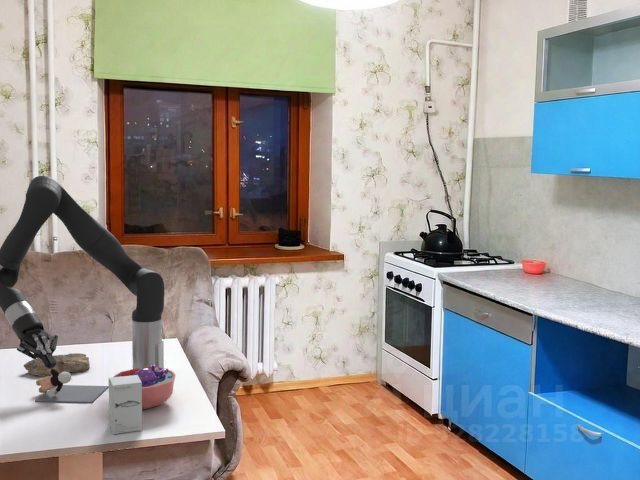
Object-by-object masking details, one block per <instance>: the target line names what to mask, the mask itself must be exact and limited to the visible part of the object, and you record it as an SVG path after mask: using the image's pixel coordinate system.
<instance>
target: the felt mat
mask: <svg viewBox="0 0 640 480" xmlns="http://www.w3.org/2000/svg"><path fill="white" fill-rule="evenodd" d="M56 388H57V386H56V387H55V388H53V389H50V390H48V391H47V392H46V393H42V395H41V396H39V397H38V398H37V399H36V400H35V403H62V404H64V403H69V404H70V403H73V404H93V403H94V402H95V401H96V400H97V399H98V398H100V396H102V395H103V394H104V393H105V392H106V391H107V390H109V385H81V384H80V385H79V384H78V385H77V384H74V385H73V384H70V385H69V384H63V386H62V388H61V390H60V391H59V392H58V393H57V394H56V395H54V391H55V390H56Z"/></svg>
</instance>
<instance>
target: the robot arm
mask: <svg viewBox="0 0 640 480" xmlns="http://www.w3.org/2000/svg"><path fill="white" fill-rule="evenodd" d="M24 200H25V201H24V204H23V206H22V207H23V208H22V211H21V212H20V215H19V218H18V220H17V222H16V224H15V225H14V226H13V227H12V229H11V230H10V231H9V233H8V235H7V236H6V238H5V239H4V240H3V242H2V244H1V245H0V309H1V311H2V312H3V314H4V316H5V318H6V320H7V323H8V324H9V325H10V327H11V329H12V331H13V332H14V333H15V336H16V338H17V339H18V340H19V341H20V343H19V345H18V346H17V347H16V350H17V352H20V353H22V354H23V355H25V356H28V357H29V358H31V359H32V360H33V359H37V358H39V359H41V360H42V362H43V363H44V365H45V366H46V367H48V369H50V368H54V367H55V365H56V360H55V358H54V357H53V356H54V355H53V354H54V352H55V351H56V349H57V344H58V340H59V336H58V335H57V334H54V335H50V334H49V332H48V331H46V330H45V328H44V324H43V322H42V321H41V320H40V317H39V316H38V315H37V313H36V312H35V310H34V308H33V307H32V306H31V304H30V303H29V302H28V300H27V299H26V297H25V295H24V294H23V292H22V291H21V290H19V288H15V287H14V286H15V285H16V284H17V283H18V279H19V274H20V271H21V265H22V262H23V260H24V259H25V257H26V255H27V253H28V251H29V249H30V247H31V246H32V243H33V242H34V240H35V239H36V236H37V234H38V233H39V231H40V230H41V228H42V227H43V225H44V224H45V223H46V221H47V220H48V219H50V217H51V216H52V215H53V214H54V215H55V216H56V217H57V218H58V220H60V221H61V222H62V224H63V225H64V226H65V228H66V229H67V231H68V233H69V234H70V236H71V238H73V240H74V241H75V243H76V244H77V245H78V246H79V247H80V249H82V250H83V251H84V252H85V253H86V254H87V255H88V256H90V257H91V258H92V259H94V260H95V261H96V262H97V263H99V264H100V265H101V266H103V267H104V268H105V269H107V270H109V272H111V273H112V274H113V275H114V276H116V277H117V278H118V280H119V281H120V282H121V283H122V284H123V285H124V286H125V288H127V290H128V291H129V292H130V293H131V294H132V295H134V296H135V297H136V308H135V309H133V311H132V312H131V328H132V329H131V341H132V342H131V345H132V347H131V350H132V369H135V368H141V367H146V366H152V365H155V367H161V368H165V367H164V366H165V359H164V357H165V354H164V353H165V352H164V350H165V349H164V345H165V344H164V340H162V339H163V337H162V334H163V333H162V332H163V331H162V325H163V324H162V323H163V322H162V321H163V320H162V317H163V316H162V314H163V312H164V308H165V282H164V279H163V278H164V277H162V275H161V274H160V273H159V272H157V271H154V270H152V269H151V270H150V269H147V268H145V267H143V266H142V265H141V264H139V263H138V262H137V261H135V260H134V259H133V258H132V257H130V255H128V253H127V252H126V251H125V248H124V247H123V245H122V244H121V243H120V242H119V239H117V238H116V237H115V235H114V234H112V232H110V231H109V230H108V229H107V228H106V227H105V226H104V225H102V224H101V223H100V222H99V221H98V220H97V219H95V218H94V217H93V216H92V215H91V214H90V213H89V212H88V211H86V210H85V209H84V207H82V206H81V205H80V204H79V203H77V201H76V200H75V199H74V198H73V197H72V196H71V194H70V193H69V192H67V190H66V189H65V188H64V187H63V186H62V184H60V182H59V181H57V180H56V179H54V178H53V177H52V176H51V177H50V176H47V175H38V176H36V177H34V178H33V179H32V180H31V181H30V183H29V185H28V187H27V190H26V193H25V199H24Z"/></svg>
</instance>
